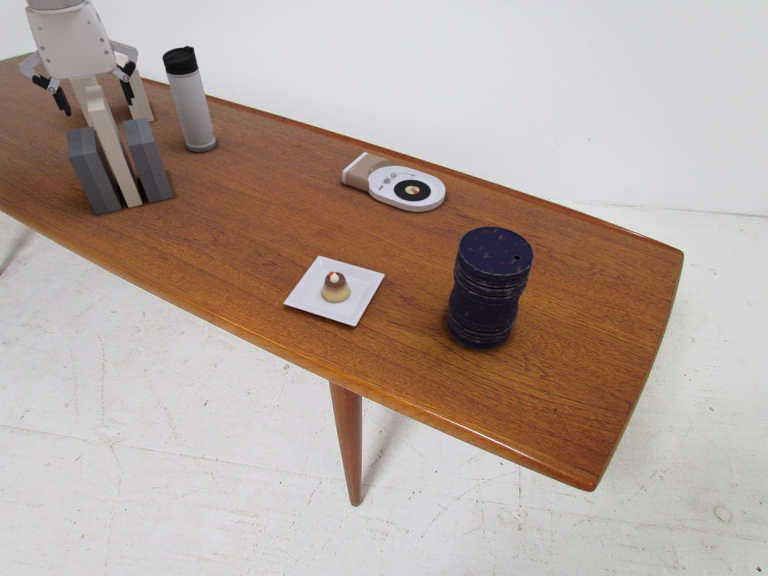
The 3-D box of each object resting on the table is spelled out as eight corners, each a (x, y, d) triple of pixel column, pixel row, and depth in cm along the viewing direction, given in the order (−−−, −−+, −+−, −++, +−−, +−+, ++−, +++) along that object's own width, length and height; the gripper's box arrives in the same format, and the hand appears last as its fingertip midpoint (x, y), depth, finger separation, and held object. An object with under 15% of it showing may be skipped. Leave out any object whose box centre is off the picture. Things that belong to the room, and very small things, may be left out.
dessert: (319, 260, 84) (317, 238, 81) (385, 279, 81) (385, 257, 78) (283, 308, 76) (279, 286, 73) (355, 331, 73) (354, 309, 70)
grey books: (96, 215, 92) (68, 157, 83) (92, 187, 98) (66, 130, 90) (173, 197, 96) (154, 141, 88) (165, 172, 103) (147, 116, 94)
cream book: (128, 208, 94) (88, 111, 80) (123, 180, 100) (85, 87, 87) (142, 204, 94) (104, 108, 81) (136, 178, 101) (100, 84, 87)
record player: (368, 148, 105) (455, 176, 98) (368, 161, 107) (453, 189, 100) (338, 174, 98) (430, 206, 91) (338, 187, 100) (428, 219, 93)
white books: (91, 131, 114) (68, 79, 105) (88, 113, 120) (67, 62, 111) (154, 120, 118) (137, 69, 110) (148, 103, 124) (132, 53, 116)
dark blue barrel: (433, 331, 74) (443, 255, 63) (463, 292, 80) (478, 217, 69) (494, 362, 70) (517, 286, 59) (521, 319, 76) (546, 243, 65)
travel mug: (223, 142, 111) (202, 49, 97) (202, 155, 107) (176, 60, 93) (203, 135, 114) (179, 42, 99) (181, 147, 110) (153, 53, 95)
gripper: (115, -18, 78) (150, 90, 90) (-12, -5, 73) (43, 108, 85) (119, -5, 73) (156, 107, 85) (-16, 10, 68) (43, 127, 80)
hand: (100, 107), depth 85 cm, fingers open, 9 cm apart
